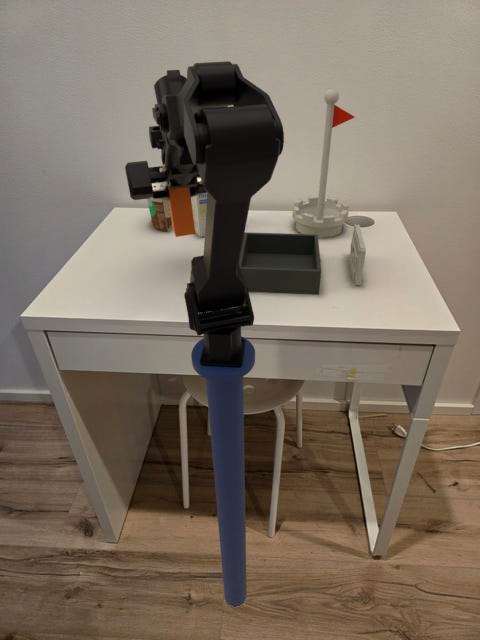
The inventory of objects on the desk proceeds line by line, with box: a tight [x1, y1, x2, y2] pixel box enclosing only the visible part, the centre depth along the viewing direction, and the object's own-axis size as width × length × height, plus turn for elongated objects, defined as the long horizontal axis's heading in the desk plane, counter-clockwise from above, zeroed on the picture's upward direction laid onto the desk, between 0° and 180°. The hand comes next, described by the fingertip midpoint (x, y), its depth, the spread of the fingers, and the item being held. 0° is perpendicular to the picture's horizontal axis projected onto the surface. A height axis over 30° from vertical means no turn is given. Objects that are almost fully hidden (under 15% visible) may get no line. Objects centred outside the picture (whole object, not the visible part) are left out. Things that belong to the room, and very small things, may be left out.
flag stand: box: [291, 88, 356, 239], centre depth 96 cm, size 13×13×30 cm
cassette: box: [348, 223, 367, 286], centre depth 86 cm, size 12×2×8 cm, turn 174°
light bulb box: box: [191, 193, 208, 238], centre depth 103 cm, size 11×7×11 cm, turn 116°
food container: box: [146, 197, 172, 233], centre depth 106 cm, size 12×6×10 cm, turn 172°
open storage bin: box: [239, 231, 322, 295], centre depth 87 cm, size 15×15×5 cm
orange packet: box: [161, 163, 196, 238], centre depth 85 cm, size 5×4×13 cm
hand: (178, 196), depth 86 cm, fingers closed on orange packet, 4 cm apart
